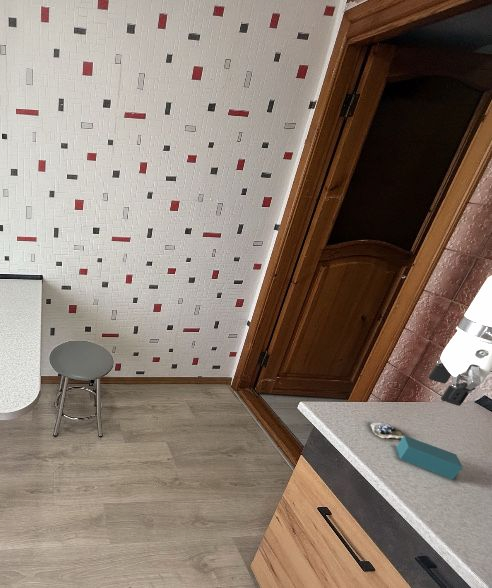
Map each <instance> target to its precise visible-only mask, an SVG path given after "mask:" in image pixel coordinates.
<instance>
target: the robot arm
mask: <svg viewBox="0 0 492 588" xmlns="http://www.w3.org/2000/svg"><path fill="white" fill-rule="evenodd" d="M455 329H456V330H457V331H456V332H455V334H454V335H453V336H452V337H451V338H450V340H449V342H448V343H447V345H446V346H445V347H444V349H443V351H442V353H441V354H440V358H439V359H438V360H437V361H436V365H435V366H434V367H433V369H432V370H431V372H430V373H429V375H428V379H429V380H430V381H434V382H436V383H440V384H444V385H446V384H447V383H448V382H449V380H450V379H451V377H453V379H452V383H451V385H448V386H447V388H446V390H445V391H444V392H443V393H442V395H441V397H440V400H441V401H442V402H445V403H448V404H451V405H454V406H457V407H459V406H462V404H463V403H464V402H465V400H466V399H467V397H468V396H469V395H470V394H471V393H472V392H473V391H474V390H476V388H477V387H478V386H480V385H481V384H483V383H484V382H485V380H486V379H487V377H488V376H489V374H490V373H491V371H492V274H491V275H489V276H488V277H487V278H486V280H485V281H484V283H483V284H482V286H481V287H480V289H479V290H478V293H476V295H475V296H474V299H473V300H472V301H471V303H470V305H469V307H468V309H467V310H466V311H465V313H464V315H463V316H462V318H461V319H460V321H459V323H458V324H457V326H456V328H455ZM460 380H461V381H463V382H460Z"/></svg>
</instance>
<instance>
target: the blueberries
mask: <svg viewBox="0 0 492 588" xmlns="http://www.w3.org/2000/svg"><path fill="white" fill-rule="evenodd" d="M370 428H371V429H372V431H371V432H373V434H374V435H375V436H378V437H379V438H382V439H385V438H386V439H389V438H392V439H397V440H398V439H400V440H401V439H402V438H403V436H404V435H403V433H402V431H401V430H400V429H398V428H396V427H394V426H392V425H391V424H390V423H388V422H380V421H379V422H373V423H370Z"/></svg>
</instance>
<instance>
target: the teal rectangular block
mask: <svg viewBox="0 0 492 588" xmlns="http://www.w3.org/2000/svg"><path fill="white" fill-rule="evenodd" d="M402 436H403V438H402V439H400V441H399V442H398V444H397V446H396V447H395V448H396V451H397V454H398V458H399V460H401V461H404V462H406V463H409V464H412V465H414V466H417V467H418V468H421V469H424V470H427V471H428V472H429V471H430V472H431V473H435V474H437V475H440V476H442V477H444V478H448V479H449V480H452V481H453V480H455V478H456V477H457V475H458V474H459V473H460V471H461V470H462V469H463V464H462V463H461V461H460V459H459V457H458V455H457V453H453V452H451V451H448V450H445V449H443V448H440V447H437V446H434V445H432V444H429V443H427V442H423V441H422V440H418V439H415V438H413V437H410V436H407V435H404V434H403V435H402Z"/></svg>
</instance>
